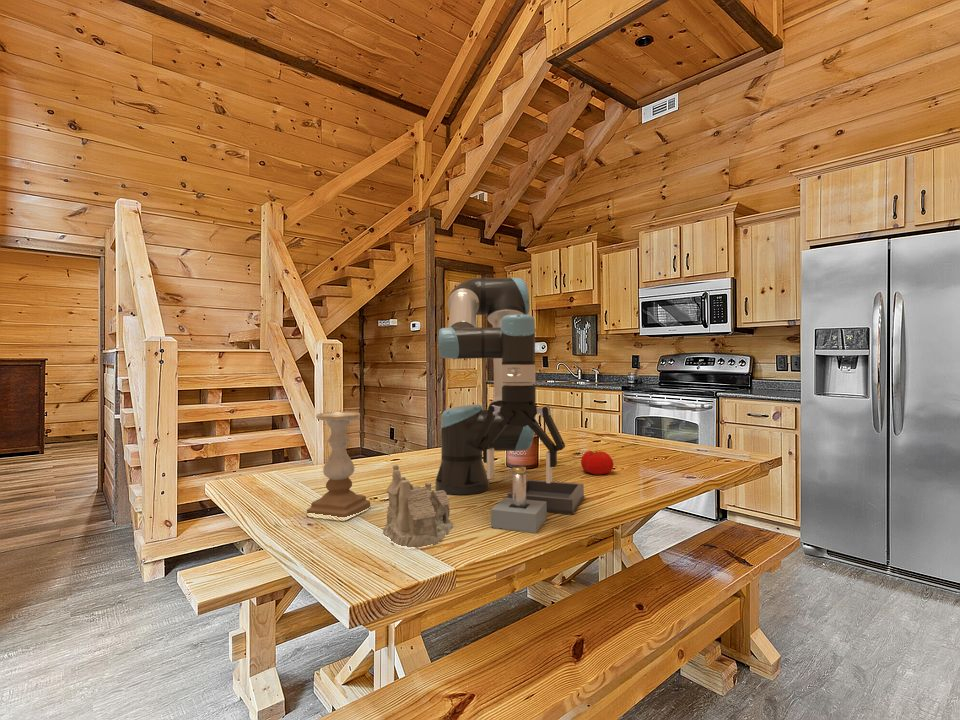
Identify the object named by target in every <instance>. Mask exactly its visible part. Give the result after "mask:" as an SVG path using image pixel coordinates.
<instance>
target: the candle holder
mask: <svg viewBox="0 0 960 720" xmlns="http://www.w3.org/2000/svg"><path fill="white" fill-rule="evenodd" d="M315 416H316V419H317V420H320V421H325V422H326V425H327V426H328V427H329V429H330V436H329V437H328V439H327V443H329V446H330V448H331V452H330V454H329V456H328V458H327V460H326V461H325V463H324V465H323V469H322V471H323V475H324V476H325V477H326V478H327V479H328V480H327V481H326V484H325V488H326V490H327V492H326V493H324V494H323V495H322V496H321V497H319V498H318V499H316V500H313V501H312V502H311V506H310V507H309V508H307V509H306V514H307V513H315V514H323V515H331V516H337V517H347V516H350V515H353V514H356V513H359V512H361V511H363V510H365V509H367V508H369V507H370V508H371V501H370V500H368V499H367V496H366V495H363V494H357V493H355V492H354V491H353V490H351V488H352V486H353V481H352V480H351V479H350V477H351V476H352V475H353V474H354V472H355V464H354V462H353V460H352V459H351V457H350V456H349V454H348V452H347V446H348V445H349V442H350V440H351V439H350V437H349V436H348V435H347V428H348V426H350V423H351V420H356V419H359V418H360V417H361V413H360V412H357V411H330V412H322V413H317V414H316V415H315Z"/></svg>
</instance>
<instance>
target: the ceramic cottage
mask: <svg viewBox="0 0 960 720" xmlns="http://www.w3.org/2000/svg"><path fill="white" fill-rule="evenodd" d="M399 468H400V467H399V464H393V465H392V471H393V472H392V475H391V476H392V480H391V483H390V484H389V485H388V486H387V488H386V492H387V494H388V506H387V511H386V523H385V525H384V527H383V530H382V535H383V534H384V535H385V536H387V537H389V538H390V539H391V541H393V542H394V543H396V544H398V545H401V546H407V547H422V546H427V545H431V544H434V543H437V544H439V543H438V542H440V541H443V538H444V539H445V538H446V536H448V534H449V533H450V532H451V531H452V530H453V529H454V525H453V522H452V521H451V520H450V519H449V517H450V506H449V505H451V502H450V500H449V497H448V494H446V492H445V491H444V490H440V491H437V490H432V483H431V481H426V482H424V483H425V484H424V487H421V485H415V486H414V485H413V484H412V483H411V482H410V481H409V480H408V479H407V478H406V477H405V476H402V474H401V470H400V469H399ZM452 528H453V529H452ZM451 529H452V530H451ZM450 530H451V531H450ZM449 531H450V532H449ZM448 532H449V533H448ZM447 533H448V534H447ZM445 535H446V536H445ZM434 545H435V544H434Z"/></svg>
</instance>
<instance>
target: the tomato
mask: <svg viewBox="0 0 960 720" xmlns="http://www.w3.org/2000/svg"><path fill="white" fill-rule="evenodd" d="M614 464H615V463H614V461H613V458H612V457H611V456H610V454H608V453H606V452H605V451H602V450H599V451H595V452H594V451H593V450H587V451H586V452H584V454H583V455H582V456H581V459H580V465H581V468H582V469H583V470H584V471H585V472H587V473H590V474H592V475H596V476H598V475H599V476H600V475H604V474H609V473H611V471H612V470H613V469H614Z"/></svg>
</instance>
